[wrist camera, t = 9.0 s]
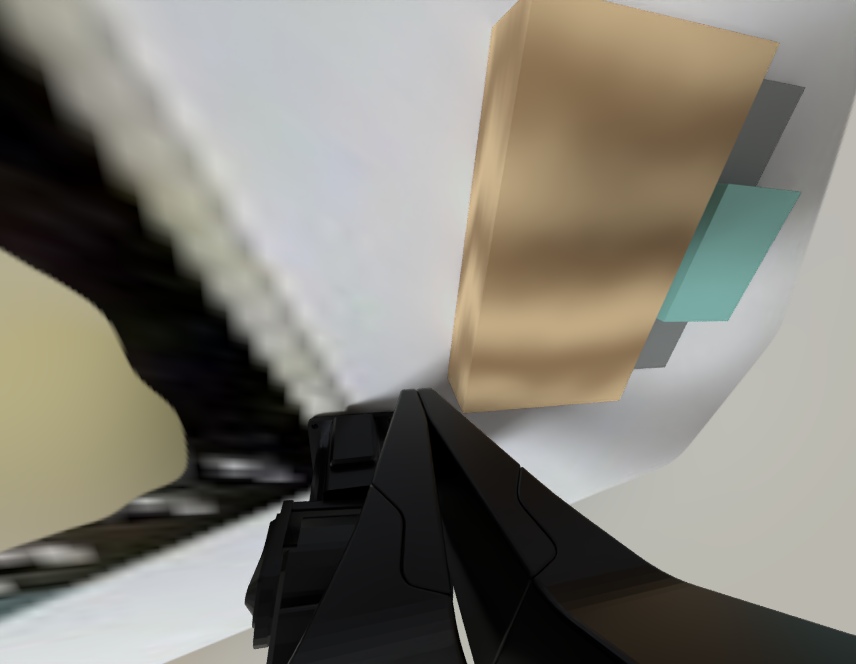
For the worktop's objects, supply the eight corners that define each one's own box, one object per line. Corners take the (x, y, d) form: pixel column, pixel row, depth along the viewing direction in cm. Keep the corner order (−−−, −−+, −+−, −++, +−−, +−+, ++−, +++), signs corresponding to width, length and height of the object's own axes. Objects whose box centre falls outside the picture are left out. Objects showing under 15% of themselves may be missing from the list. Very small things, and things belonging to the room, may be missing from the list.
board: (584, 369, 26) (619, 400, 23) (447, 377, 24) (462, 413, 20) (694, 67, 17) (779, 42, 14) (492, 27, 15) (534, -16, 11)
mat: (661, 365, 28) (664, 367, 28) (584, 369, 26) (586, 371, 26) (799, 88, 19) (805, 87, 19) (694, 67, 17) (699, 66, 17)
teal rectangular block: (663, 321, 22) (641, 310, 24) (728, 321, 24) (702, 310, 25) (728, 183, 18) (696, 182, 20) (801, 191, 20) (765, 189, 21)
